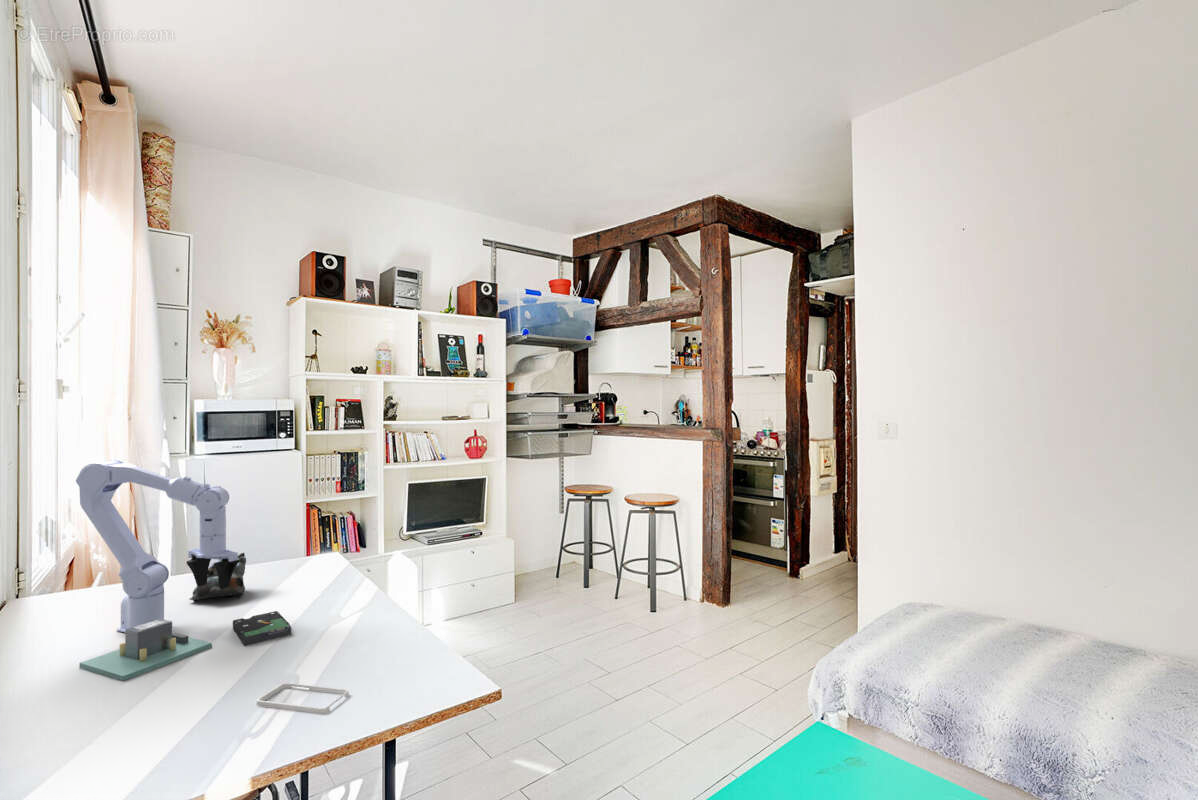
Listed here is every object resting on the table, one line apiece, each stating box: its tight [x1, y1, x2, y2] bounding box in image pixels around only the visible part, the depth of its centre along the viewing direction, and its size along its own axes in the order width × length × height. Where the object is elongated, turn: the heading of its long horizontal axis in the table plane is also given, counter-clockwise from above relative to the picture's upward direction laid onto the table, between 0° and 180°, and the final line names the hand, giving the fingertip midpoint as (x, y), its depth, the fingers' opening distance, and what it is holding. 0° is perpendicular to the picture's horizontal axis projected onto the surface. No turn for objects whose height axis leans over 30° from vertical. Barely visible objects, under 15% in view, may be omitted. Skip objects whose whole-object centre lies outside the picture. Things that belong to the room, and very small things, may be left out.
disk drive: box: [232, 610, 292, 647], centre depth 145 cm, size 10×3×15 cm
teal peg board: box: [78, 632, 213, 682], centre depth 130 cm, size 16×18×4 cm
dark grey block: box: [124, 619, 173, 660], centre depth 131 cm, size 4×7×6 cm, turn 157°
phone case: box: [256, 682, 350, 714], centre depth 111 cm, size 7×1×15 cm
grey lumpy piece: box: [188, 552, 247, 602], centre depth 172 cm, size 15×12×14 cm
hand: (213, 586), depth 151 cm, fingers open, 7 cm apart
